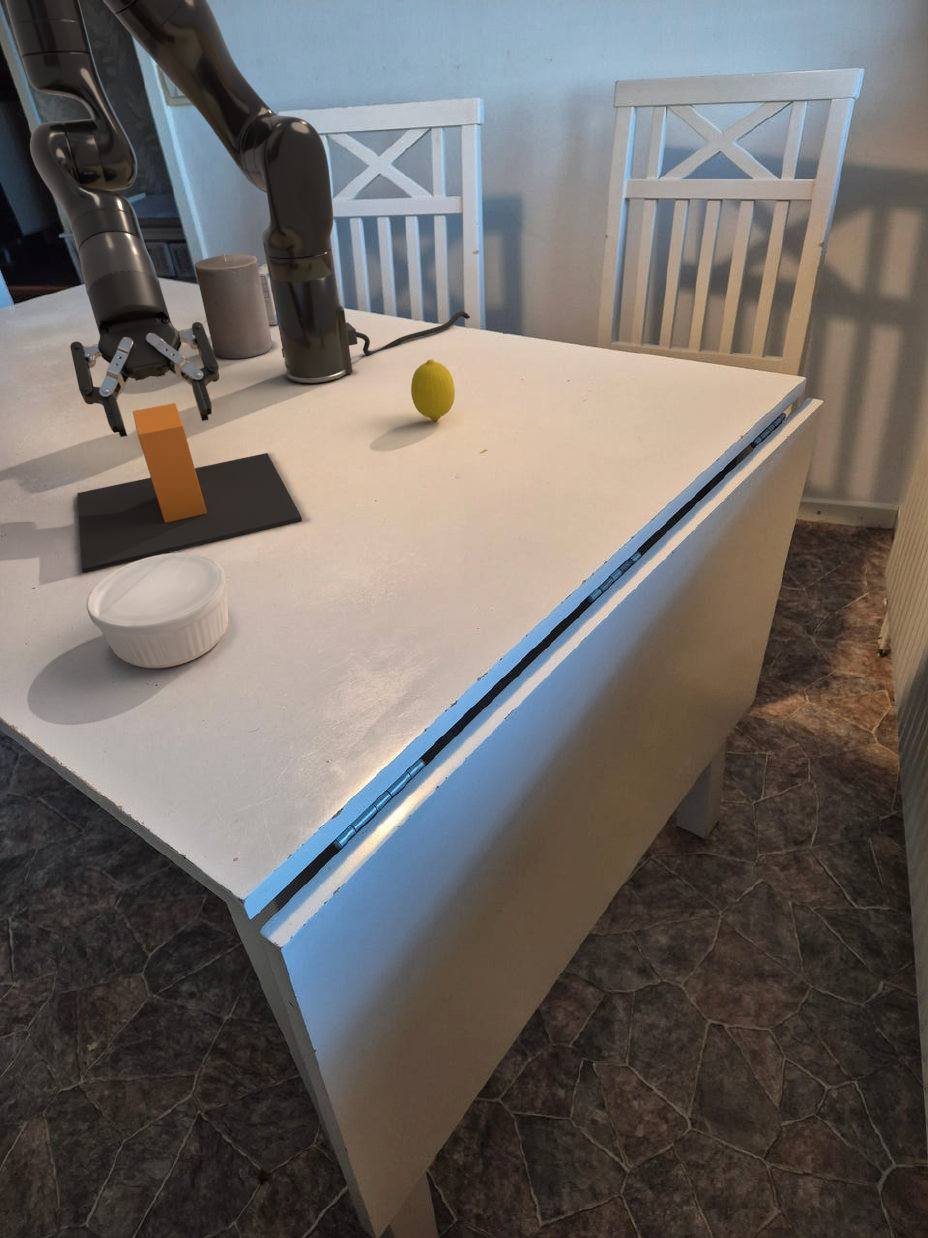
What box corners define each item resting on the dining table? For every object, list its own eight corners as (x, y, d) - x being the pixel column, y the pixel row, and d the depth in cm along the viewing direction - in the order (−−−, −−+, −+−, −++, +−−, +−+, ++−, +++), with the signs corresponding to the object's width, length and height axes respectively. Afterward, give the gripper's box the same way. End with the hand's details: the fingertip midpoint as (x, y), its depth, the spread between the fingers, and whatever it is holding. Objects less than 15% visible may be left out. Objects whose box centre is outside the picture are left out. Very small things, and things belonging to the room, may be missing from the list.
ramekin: (113, 611, 74) (95, 562, 70) (238, 591, 75) (225, 542, 72) (97, 690, 65) (75, 638, 62) (239, 664, 66) (224, 612, 63)
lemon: (463, 415, 106) (459, 354, 102) (445, 431, 102) (440, 369, 98) (426, 410, 108) (420, 350, 104) (406, 426, 104) (400, 364, 100)
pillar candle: (203, 351, 134) (180, 254, 125) (255, 336, 139) (236, 242, 131) (232, 363, 128) (210, 262, 119) (285, 347, 133) (267, 250, 125)
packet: (198, 487, 92) (175, 402, 86) (207, 513, 87) (183, 425, 81) (158, 495, 91) (132, 410, 85) (165, 523, 86) (137, 434, 80)
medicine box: (276, 325, 144) (266, 274, 139) (253, 325, 145) (242, 274, 140) (292, 312, 150) (284, 262, 145) (270, 312, 151) (261, 263, 146)
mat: (268, 456, 99) (267, 452, 99) (302, 520, 86) (301, 516, 85) (78, 496, 93) (77, 492, 93) (83, 572, 79) (81, 568, 79)
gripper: (45, 278, 82) (87, 424, 81) (187, 258, 87) (230, 396, 85) (62, 319, 90) (101, 453, 88) (193, 298, 94) (232, 426, 92)
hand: (164, 425), depth 86 cm, fingers open, 8 cm apart
